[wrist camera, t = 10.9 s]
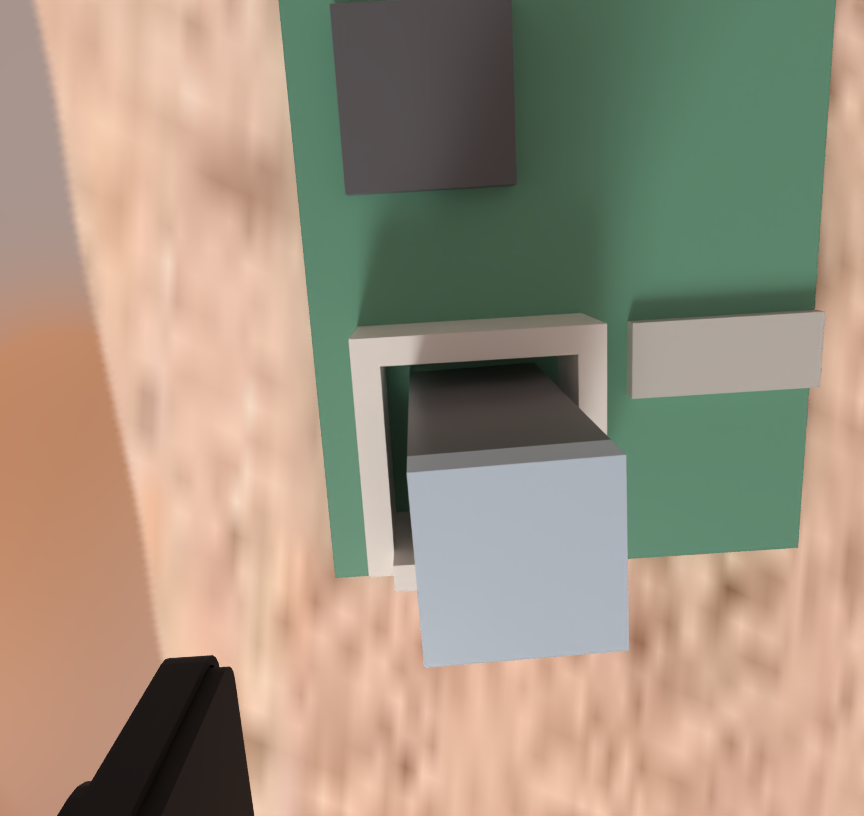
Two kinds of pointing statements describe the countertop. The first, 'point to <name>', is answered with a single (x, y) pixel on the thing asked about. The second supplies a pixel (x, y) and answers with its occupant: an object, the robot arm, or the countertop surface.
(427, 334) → the frame
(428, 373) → the plug
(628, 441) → the board
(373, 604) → the countertop surface
